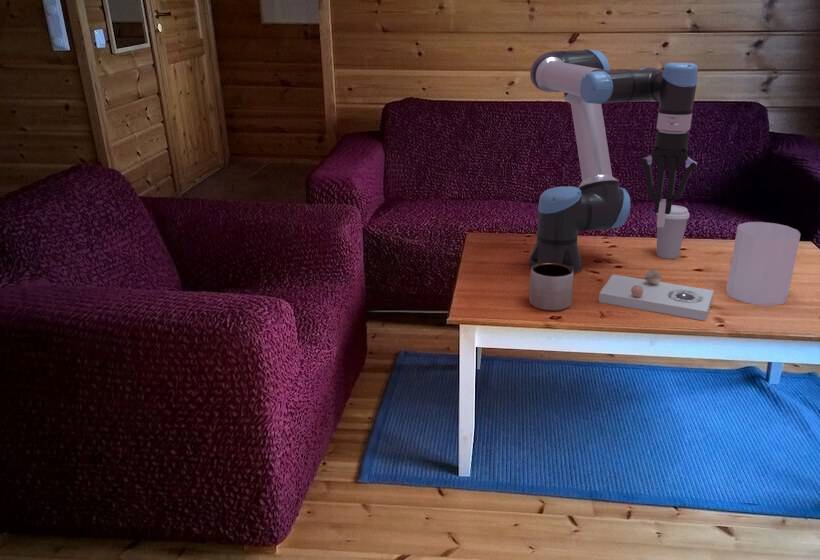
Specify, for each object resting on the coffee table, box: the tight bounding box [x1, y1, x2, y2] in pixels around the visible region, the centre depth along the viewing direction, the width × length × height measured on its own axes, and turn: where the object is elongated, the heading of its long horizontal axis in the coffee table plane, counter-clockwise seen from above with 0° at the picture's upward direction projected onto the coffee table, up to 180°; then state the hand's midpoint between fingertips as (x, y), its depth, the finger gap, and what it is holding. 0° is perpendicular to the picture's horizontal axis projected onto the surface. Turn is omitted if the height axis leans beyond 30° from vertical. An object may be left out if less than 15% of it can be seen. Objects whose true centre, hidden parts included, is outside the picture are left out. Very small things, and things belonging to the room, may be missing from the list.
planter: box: [528, 262, 575, 312], centre depth 173 cm, size 11×11×10 cm
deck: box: [598, 274, 715, 322], centre depth 175 cm, size 26×15×2 cm, turn 61°
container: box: [725, 221, 801, 307], centre depth 175 cm, size 14×14×18 cm
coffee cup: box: [655, 204, 691, 260], centre depth 205 cm, size 10×10×15 cm
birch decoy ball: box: [644, 268, 662, 284], centre depth 179 cm, size 4×4×4 cm
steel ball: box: [676, 292, 690, 300], centre depth 172 cm, size 4×4×4 cm
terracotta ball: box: [631, 285, 643, 297], centre depth 171 cm, size 3×3×3 cm
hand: (660, 225), depth 169 cm, fingers closed
